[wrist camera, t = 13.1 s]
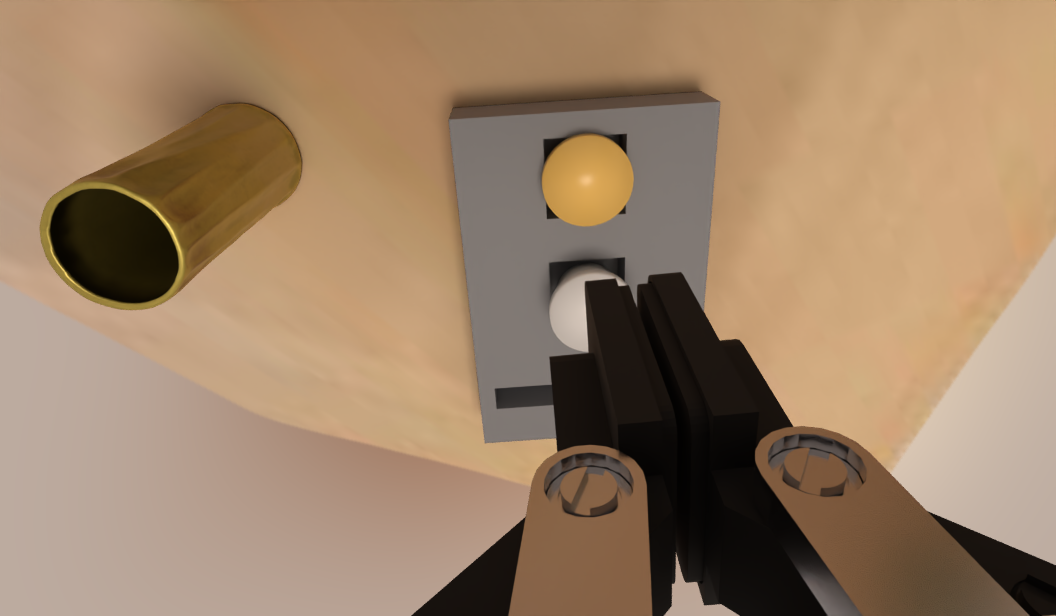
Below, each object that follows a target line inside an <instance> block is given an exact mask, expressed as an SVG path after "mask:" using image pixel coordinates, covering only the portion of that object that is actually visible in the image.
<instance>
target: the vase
mask: <svg viewBox="0 0 1056 616" xmlns="http://www.w3.org/2000/svg"><path fill="white" fill-rule="evenodd" d="M301 168H302V162H301V157H300V153H299V150H298V147H297V144H296V142H295V140H294V138H293V136H292V134H291V133H290V132H289V130H288V129H287V128H286V127H285V126H284V124H283V123H282V122H281V121H280V120H278V119H277V118H276V117H275V116H273V115H272V114H270V113H269V112H267V111H265V110H263V109H261V108H258V107H255V106H253V105H249V104H240V103H238V104H224V105H219V106H217V107H215V108H213V109H211V110H210V111H208V112H207V113H205V114H204V115H203V116H201V117H200V118H198V119H196V120H194V121H193V122H191V123H189V124H187V125H186V126H184V127H182V128H180V129H178V130H177V131H175V132H173V133H171V134H169V135H168V136H166V137H164V138H162V139H160V140H158V141H157V142H155V143H153V144H151V145H149V146H147V147H145V148H143V149H141V150H140V151H138V152H136V153H134V154H131V155H129V156H127V157H125V158H123V159H121V160H119V161H117V162H115V163H113V164H110V165H108V166H106V167H104V168H102V169H100V170H98V171H96V172H94V173H92V174H89V175H87V176H85V177H82V178H80V179H78V180H76V181H75V182H73V183H72V184H70V185H69V186H67V187H65V188H64V189H62V190H61V191H59V192H58V193H56V194H54V195H53V196H52V197H51V198H50V199H49V201H48V202H47V203H46V206H45V208H44V210H43V214H42V217H41V222H40V237H41V243H42V246H43V249H44V252H45V255H46V257H47V259H48V261H49V263H50V265H51V266H52V268H53V269H54V270H55V272H56V273H57V274H58V275H59V276H60V278H61V279H62V280H63V281H64V282H65V283H66V284H67V285H68V286H70V287H71V288H72V289H73V290H75V291H76V292H77V293H79V294H80V295H82V296H83V297H85V298H86V299H88V300H91V301H93V302H95V303H98V304H101V305H104V306H107V307H111V308H115V309H121V310H142V309H149V308H153V307H156V306H158V305H160V304H162V303H164V302H166V301H167V300H169V299H170V298H172V297H173V296H174V295H176V294H177V293H178V292H179V291H181V290H182V289H183V288H184V287H185V286H186V285H187V284H188V283H189V282H190V281H191V280H192V279H193V278H194V277H195V276H196V275H197V274H198V273H199V272H200V271H201V270H202V269H203V268H205V267H206V266H207V265H208V264H209V263H210V262H211V261H212V260H213V259H215V258H216V257H217V256H218V255H219V254H221V253H222V252H223V251H224V250H225V249H226V248H228V247H229V246H230V245H231V244H232V243H234V242H235V241H236V240H237V239H238V238H239V237H240V236H241V235H242V234H243V233H245V232H246V231H247V230H248V229H250V228H251V227H252V226H253V225H255V224H256V223H257V222H258V221H259V220H260V219H262V218H263V217H264V216H265V215H266V214H267V213H268V212H269V211H271V210H272V209H273V208H274V207H276V206H278V205H280V204H281V203H283V202H284V201H285V200H287V199H288V198H289V197H290V196H291V195H292V193H293V192H294V191H295V189H296V187H297V185H298V183H299V180H300V176H301Z"/></svg>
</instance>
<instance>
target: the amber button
mask: <svg viewBox="0 0 1056 616" xmlns="http://www.w3.org/2000/svg"><path fill="white" fill-rule="evenodd" d="M633 182H634V176H633V169H632V166H631V163H630V161H629V159H628V157H627V155H626V154H625V153H624V151H623V150H622V149H621V148H620V146H619V145H618V144H616V143H615V142H614V141H613V140H611V139H609V138H607V137H605V136H602V135H599V134H592V133H585V134H578V135H575V136H572V137H569V138H567V139H566V140H564V141H562V142H561V143H560V144H558V145H557V146H556V147H555V148H554V149H553V150H552V152H551V153H550V154H549V156H548V157H547V159H546V161H545V164H544V167H543V170H542V189H543V194H544V197H545V200H546V202H547V204H548V206H549V208H550V209H551V210H552V212H553V213H554V214H555V215H556V216H558V217H559V218H560V219H562V220H563V221H565V222H567V223H570V224H572V225H576V226H595V225H599V224H602V223H604V222H607V221H608V220H610V219H612V218H613V217H615V216H616V215H617V214H618V213H619V212H620V211H621V210H622V209H623V208H624V206H625V205H626V204H627V202H628V200H629V198H630V196H631V193H632V189H633Z"/></svg>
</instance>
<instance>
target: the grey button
mask: <svg viewBox="0 0 1056 616" xmlns="http://www.w3.org/2000/svg"><path fill="white" fill-rule="evenodd" d="M613 278H616V280H617V283H618V286H625V285H627V284H626V283H625V282H624V281H623V280H622V279H621V278H620V277H619V276H617V275H615V274H614V273H611V272H610V271H609V270H608V269H606V268H605V267H603V266H601V265H599V264H595V263H582V264H578V265H575V266H573V267H571V268H570V269H568V270H567V271H566V272H565V273H564V274H563V275H562V276H561V278H560V280H559V282H558V285H557V288H556V289H555V291H554V292H553V294H552V297H551V300H550V304H549V315H550V322H551V326H552V329H553V331H554V333H555V334H556V336H557V337H558V338H559V340H560V341H562V342H563V343H564V344H565V345H567V346H568V347H570V348H572V349H575V350H578V351H583V352H588V336H587V320H586V305H585V281H592V280H602V279H613ZM633 298H634V297H633Z"/></svg>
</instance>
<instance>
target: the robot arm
mask: <svg viewBox="0 0 1056 616" xmlns="http://www.w3.org/2000/svg"><path fill="white" fill-rule="evenodd" d="M585 305H586V320H587V336H588V352H589V353H582V354H571V355H561V356H550V357H549V360H550V371H551V383H552V394H553V406H554V417H555V429H556V440H557V453H555V454H554V455H552V456H550V457H549V458H547V459H546V460H545V461H544V462H543V463H542V464H541V465H540V467H539V468H538V469H537V470H536V473H535V475H534V478H533V480H532V484H531V490H530V495H529V501H528V507H527V514H526V517H525V518H524V519H523V520H521V521H520V522H519V523H518V524H517V525H516V526H515V527H513V528H512V529H511V530H510V531H509V532H508V533H506V534H505V535H504V536H503V537H502V538H501V539H500V540H498V541H497V542H496V543H495V544H494V545H493V546H491V547H490V548H489V549H488V550H487V551H486V552H485V553H484V554H482V555H481V556H480V557H479V558H478V559H476V560H475V561H474V562H473V563H472V564H471V565H469V566H468V567H467V568H466V569H465V570H464V571H462V572H461V573H460V574H459V575H458V576H457V577H456V578H454V579H453V580H452V581H451V582H450V583H449V584H447V586H445V587H444V588H443V589H442V590H441V591H439V592H438V593H437V594H436V595H435V596H434V597H433V598H431V599H430V600H429V601H428V602H427V603H425V604H424V605H423V606H422V607H421V608H420V609H418V610H417V611H416V612H415V613H414V614H413V615H412V616H664V615H665V613H666V612H667V611H668V610H669V608H670V607H671V606H672V605H671V604H672V584H674V583H675V569H676V553H677V557H678V561H679V564H680V568H681V572H682V575H683V578H684V580H685V582H697V583H698V586H699V589H700V593H701V596H702V599H703V603H704V605H715V604H722V605H724V606H725V607H727V608H728V609H730V610H732V611H733V612H735V613H737V614H738V615H740V616H1056V565H1053V564H1051V563H1049V562H1047V561H1044V560H1042V559H1039V558H1037V557H1035V556H1032V555H1030V554H1028V553H1025V552H1023V551H1020V550H1018V549H1016V548H1013V547H1011V546H1009V545H1006V544H1004V543H1001V542H999V541H997V540H994V539H992V538H989V537H987V536H985V535H982V534H980V533H978V532H975V531H973V530H970V529H968V528H966V527H963V526H961V525H959V524H956V523H954V522H952V521H949V520H947V519H944V518H942V517H940V516H937V515H935V514H933V513H930V512H928V511H926V510H925V509H924V508H923V507H922V506H921V505H920V503H919V502H917V501H916V500H915V498H914V497H913V496H912V495H911V494H910V493H909V492H908V491H907V490H906V489H905V488H904V487H903V486H902V485H901V484H900V483H899V482H898V481H897V480H896V479H895V478H894V477H893V476H892V475H891V474H890V473H889V472H888V471H887V470H886V469H885V468H884V467H883V466H882V465H881V464H880V463H879V462H878V461H877V460H876V459H875V458H874V457H873V456H872V455H871V454H870V453H869V452H868V451H867V450H866V449H864V448H863V447H862V446H861V445H859V444H858V443H857V442H855V441H853V440H851V439H849V438H847V437H845V436H843V435H841V434H839V433H836V432H832V431H829V430H826V429H822V428H815V427H806V426H799V427H793V425H792V424H791V422H790V420H789V419H788V417H787V415H786V414H785V412H784V410H783V409H782V407H781V406H780V404H779V402H778V401H777V399H776V397H775V396H774V394H773V392H772V391H771V389H770V388H769V386H768V384H767V383H766V381H765V379H764V378H763V376H762V374H761V373H760V371H759V370H758V368H757V366H756V365H755V363H754V361H753V360H752V358H751V356H750V355H749V353H748V351H747V350H746V348H745V347H744V345H743V344H742V342H741V341H740V340H737V339H732V340H722V341H720V340H719V338H718V337H717V335H716V333H715V331H714V329H713V328H712V326H711V324H710V322H709V320H708V319H707V317H706V315H705V313H704V311H703V310H702V308H701V306H700V304H699V302H698V301H697V299H696V297H695V295H694V293H693V291H692V290H691V288H690V286H689V284H688V282H687V281H686V279H685V277H684V275H683V274H682V272H675V273H664V274H654V275H649V277H648V283H645V284H638V285H637V306H636V303H635V300H634V298H633V295H632V292H631V289H630V287H629V285H625V286H618V283H617V280H616V278H613V279H602V280H592V281H585Z"/></svg>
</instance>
